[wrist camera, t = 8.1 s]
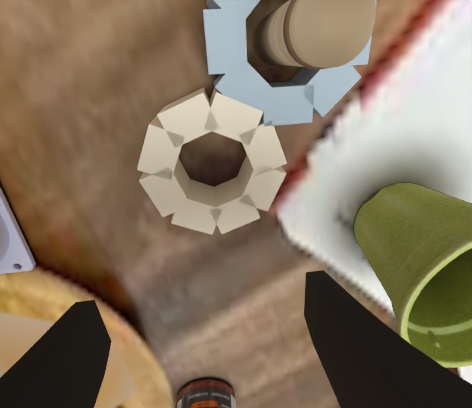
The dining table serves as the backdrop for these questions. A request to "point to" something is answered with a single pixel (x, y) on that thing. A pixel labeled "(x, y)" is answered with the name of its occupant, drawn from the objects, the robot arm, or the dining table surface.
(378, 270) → the plant pot
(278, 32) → the brown wooden peg
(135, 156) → the dining table surface
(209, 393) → the supplement bottle
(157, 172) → the cream bead
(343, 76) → the blue bead
